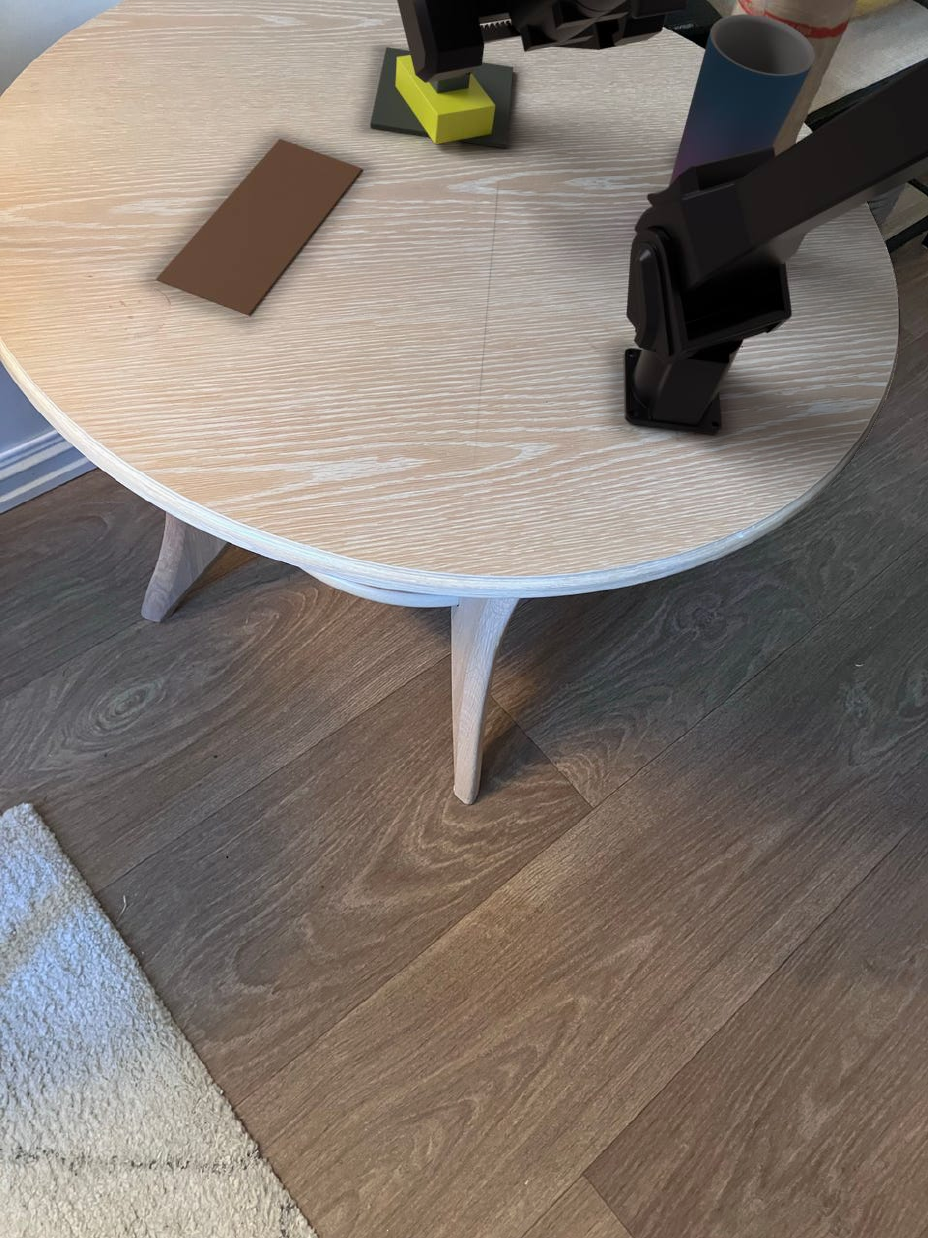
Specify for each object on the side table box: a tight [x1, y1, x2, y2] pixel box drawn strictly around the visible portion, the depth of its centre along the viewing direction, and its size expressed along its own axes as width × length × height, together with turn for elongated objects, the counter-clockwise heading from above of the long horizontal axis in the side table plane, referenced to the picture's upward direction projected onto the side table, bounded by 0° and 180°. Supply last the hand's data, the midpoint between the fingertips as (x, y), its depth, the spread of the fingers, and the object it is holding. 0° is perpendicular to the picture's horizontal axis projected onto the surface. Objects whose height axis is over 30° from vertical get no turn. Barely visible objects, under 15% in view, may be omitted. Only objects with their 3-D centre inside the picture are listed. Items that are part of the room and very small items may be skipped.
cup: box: [668, 14, 815, 187], centre depth 65 cm, size 7×7×15 cm
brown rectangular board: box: [155, 138, 363, 317], centre depth 67 cm, size 18×7×1 cm, turn 158°
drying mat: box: [369, 46, 514, 149], centre depth 77 cm, size 11×11×1 cm
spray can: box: [731, 0, 858, 156], centre depth 68 cm, size 8×8×20 cm
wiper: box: [396, 55, 495, 145], centre depth 70 cm, size 5×8×14 cm, turn 25°
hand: (483, 46), depth 69 cm, fingers open, 9 cm apart
